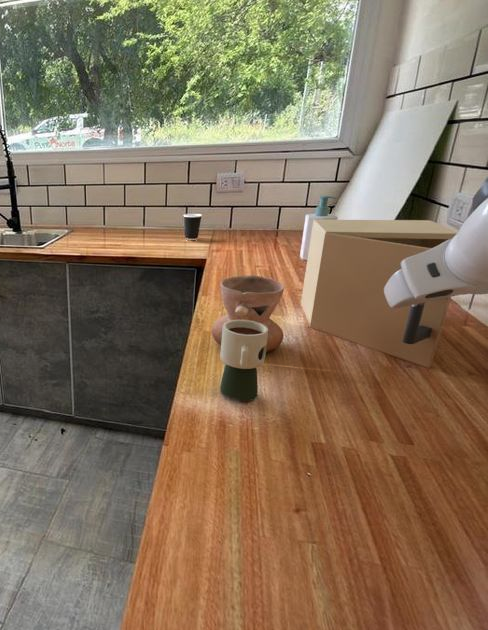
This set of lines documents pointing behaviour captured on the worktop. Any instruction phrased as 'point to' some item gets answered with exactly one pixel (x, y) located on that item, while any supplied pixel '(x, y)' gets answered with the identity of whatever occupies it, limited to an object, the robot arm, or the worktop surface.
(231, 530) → the worktop surface
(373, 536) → the worktop surface
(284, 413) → the worktop surface
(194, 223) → the dixie cup
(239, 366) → the character mug
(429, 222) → the cupboard
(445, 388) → the worktop surface
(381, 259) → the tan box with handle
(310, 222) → the soap bottle
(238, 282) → the terracotta hourglass vessel
